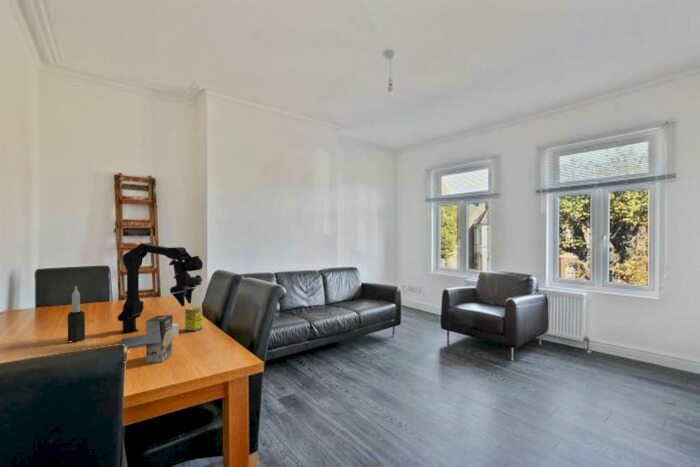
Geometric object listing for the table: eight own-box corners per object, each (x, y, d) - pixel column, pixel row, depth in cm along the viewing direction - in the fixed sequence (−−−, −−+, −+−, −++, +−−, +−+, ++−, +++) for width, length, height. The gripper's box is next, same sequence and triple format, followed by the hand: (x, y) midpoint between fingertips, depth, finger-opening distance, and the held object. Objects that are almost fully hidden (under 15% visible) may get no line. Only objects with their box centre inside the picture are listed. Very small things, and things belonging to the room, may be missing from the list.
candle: (86, 339, 163) (85, 285, 162) (74, 343, 158) (73, 287, 158) (78, 338, 164) (77, 285, 164) (66, 342, 159) (65, 287, 159)
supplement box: (195, 331, 174) (195, 310, 174) (184, 331, 176) (184, 309, 176) (202, 328, 180) (202, 307, 180) (192, 328, 181) (192, 306, 181)
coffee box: (163, 362, 134) (162, 320, 134) (145, 363, 134) (145, 321, 134) (173, 354, 144) (172, 314, 143) (156, 354, 143) (156, 315, 143)
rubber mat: (120, 341, 160) (120, 338, 160) (155, 335, 169) (155, 332, 169) (126, 349, 149) (126, 346, 149) (162, 342, 158) (162, 339, 158)
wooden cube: (164, 335, 169) (164, 324, 169) (175, 333, 173) (175, 323, 173) (167, 337, 166) (167, 327, 166) (178, 335, 169) (178, 325, 169)
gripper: (192, 271, 162) (197, 304, 162) (204, 268, 180) (209, 298, 180) (167, 275, 161) (172, 309, 160) (181, 272, 179) (186, 303, 179)
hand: (186, 304), depth 170 cm, fingers open, 9 cm apart
